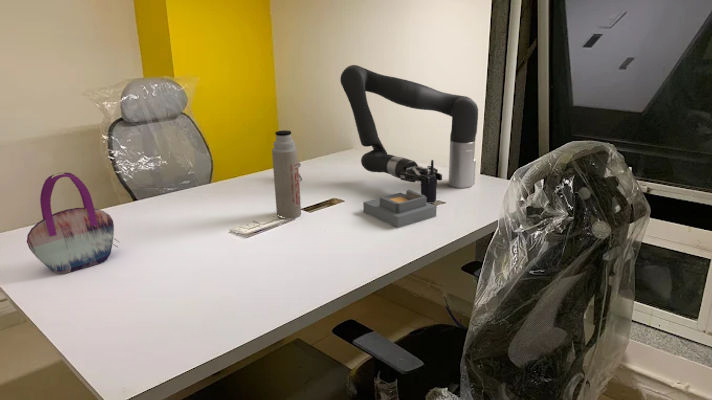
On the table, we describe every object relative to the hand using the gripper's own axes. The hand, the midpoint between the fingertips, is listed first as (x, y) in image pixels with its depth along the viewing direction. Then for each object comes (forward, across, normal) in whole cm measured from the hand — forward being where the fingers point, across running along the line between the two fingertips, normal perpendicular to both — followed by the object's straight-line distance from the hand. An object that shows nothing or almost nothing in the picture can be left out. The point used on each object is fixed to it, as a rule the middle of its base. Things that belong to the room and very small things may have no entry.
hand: (435, 179), depth 171 cm
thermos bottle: (-24, -43, +10) cm, 50 cm away
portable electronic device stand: (-59, -23, +10) cm, 64 cm away
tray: (-2, -14, +10) cm, 17 cm away
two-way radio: (-3, 0, +9) cm, 10 cm away
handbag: (-27, -105, +9) cm, 109 cm away
